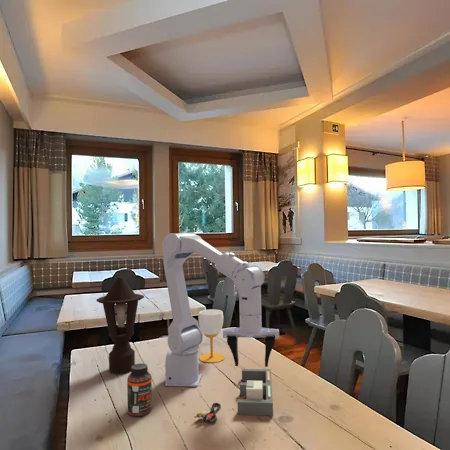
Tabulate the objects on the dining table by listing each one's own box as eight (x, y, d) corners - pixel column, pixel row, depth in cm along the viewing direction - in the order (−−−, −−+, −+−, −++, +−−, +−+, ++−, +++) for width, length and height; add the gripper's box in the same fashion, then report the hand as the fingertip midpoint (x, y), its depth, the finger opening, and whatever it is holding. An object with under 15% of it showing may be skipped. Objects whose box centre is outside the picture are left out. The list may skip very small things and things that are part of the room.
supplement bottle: (139, 420, 86) (138, 372, 86) (122, 413, 89) (121, 367, 89) (157, 409, 91) (156, 364, 91) (140, 403, 94) (139, 360, 94)
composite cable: (214, 405, 93) (214, 395, 93) (230, 409, 90) (230, 399, 90) (193, 424, 84) (193, 413, 84) (211, 429, 82) (210, 418, 82)
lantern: (140, 358, 127) (138, 273, 127) (150, 372, 114) (148, 278, 114) (95, 365, 121) (93, 276, 121) (101, 382, 107) (98, 282, 107)
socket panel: (237, 414, 87) (237, 400, 87) (242, 378, 107) (242, 367, 107) (273, 415, 86) (272, 401, 86) (270, 379, 107) (270, 367, 107)
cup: (229, 356, 127) (228, 310, 127) (215, 364, 119) (214, 316, 119) (208, 352, 131) (207, 308, 132) (193, 360, 124) (192, 313, 124)
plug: (246, 409, 90) (246, 387, 90) (247, 399, 95) (247, 379, 95) (262, 409, 89) (262, 388, 89) (262, 399, 94) (262, 379, 94)
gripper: (221, 316, 91) (222, 370, 91) (279, 317, 89) (280, 371, 89) (224, 310, 98) (225, 360, 98) (277, 310, 96) (279, 361, 96)
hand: (251, 365), depth 94 cm, fingers open, 7 cm apart
